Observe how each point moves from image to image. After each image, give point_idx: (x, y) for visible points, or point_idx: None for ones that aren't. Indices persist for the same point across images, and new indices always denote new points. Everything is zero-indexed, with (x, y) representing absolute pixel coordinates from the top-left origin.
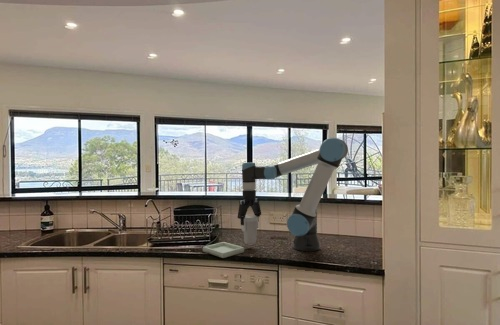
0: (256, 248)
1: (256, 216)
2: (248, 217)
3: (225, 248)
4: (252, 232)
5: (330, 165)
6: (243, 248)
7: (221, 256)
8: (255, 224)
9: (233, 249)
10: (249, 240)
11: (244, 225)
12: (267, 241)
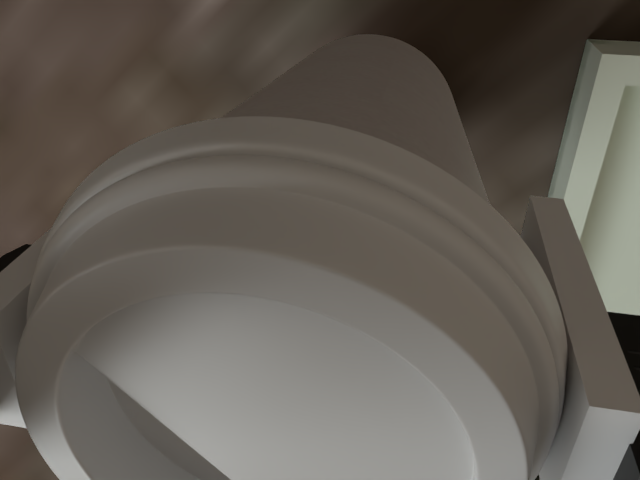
0: (330, 25)
1: (87, 266)
2: (487, 396)
3: (634, 289)
4: (408, 85)
5: None
6: (614, 50)
7: None
8: (295, 110)
9: (623, 191)
10: (447, 90)
11: (592, 282)
12: (15, 129)
